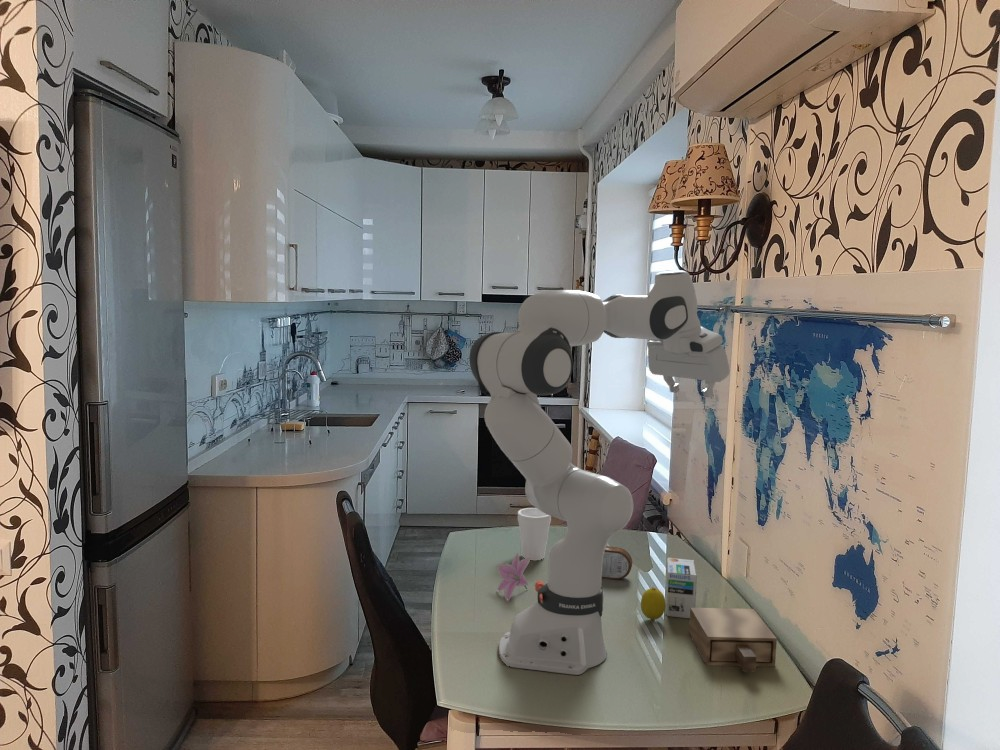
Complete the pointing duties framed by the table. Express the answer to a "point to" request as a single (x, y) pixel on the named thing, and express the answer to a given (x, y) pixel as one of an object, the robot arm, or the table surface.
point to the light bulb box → (680, 587)
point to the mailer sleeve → (728, 630)
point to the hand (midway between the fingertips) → (691, 394)
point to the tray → (741, 652)
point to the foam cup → (533, 532)
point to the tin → (616, 563)
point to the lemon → (653, 603)
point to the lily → (512, 575)
